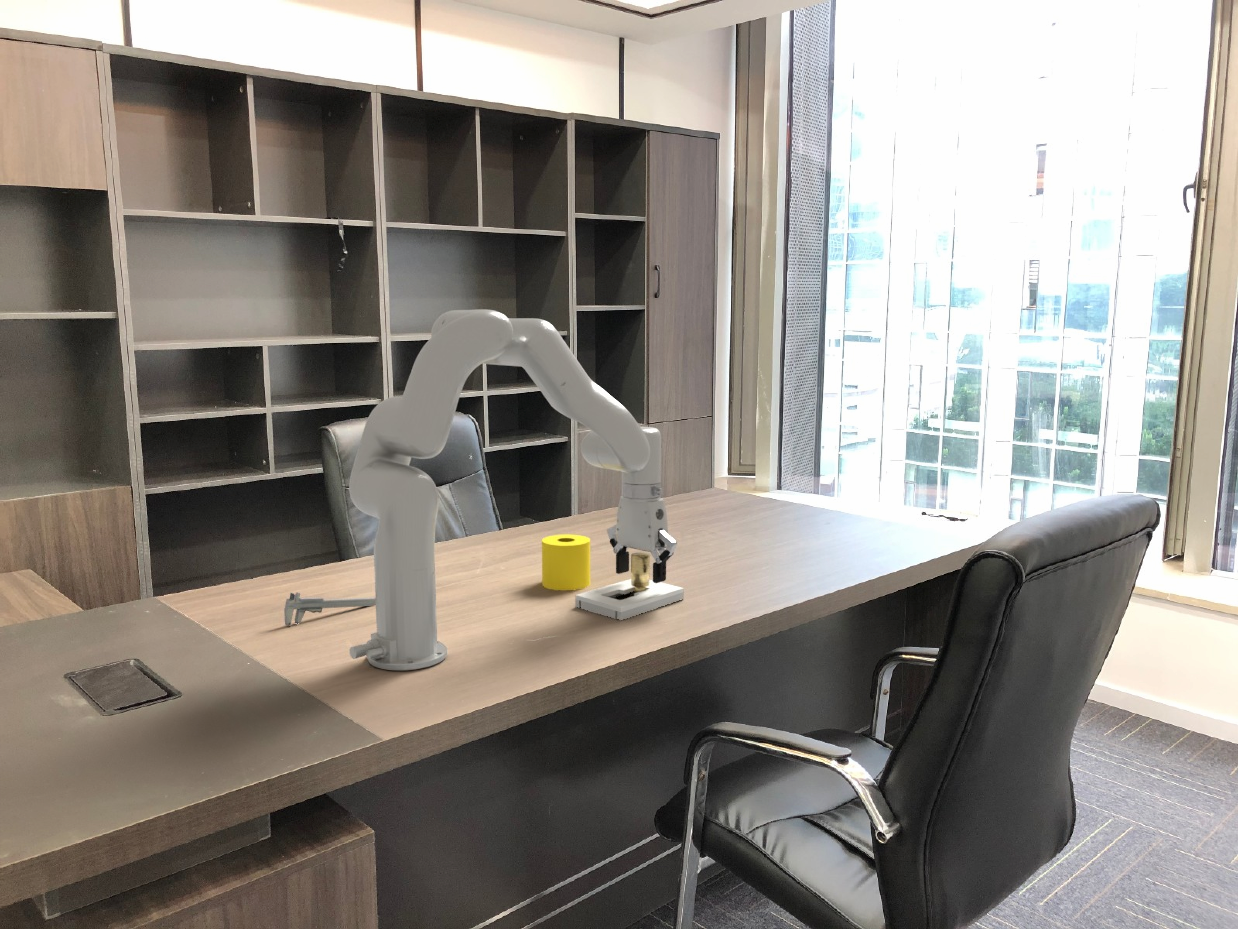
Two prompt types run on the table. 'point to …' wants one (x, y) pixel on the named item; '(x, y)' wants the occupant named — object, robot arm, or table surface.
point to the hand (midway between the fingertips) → (640, 577)
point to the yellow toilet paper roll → (565, 562)
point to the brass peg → (640, 571)
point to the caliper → (319, 605)
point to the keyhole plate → (628, 599)
